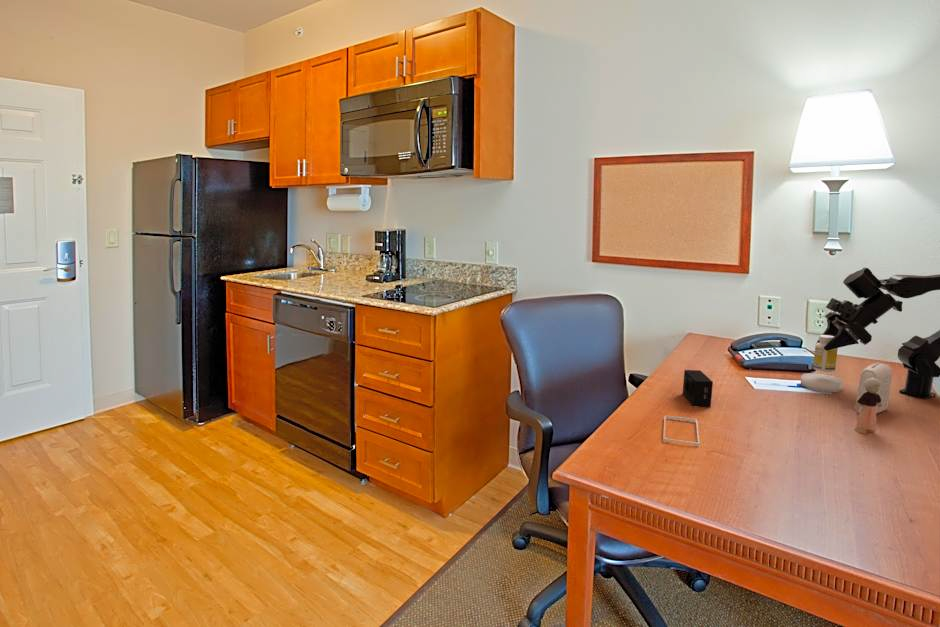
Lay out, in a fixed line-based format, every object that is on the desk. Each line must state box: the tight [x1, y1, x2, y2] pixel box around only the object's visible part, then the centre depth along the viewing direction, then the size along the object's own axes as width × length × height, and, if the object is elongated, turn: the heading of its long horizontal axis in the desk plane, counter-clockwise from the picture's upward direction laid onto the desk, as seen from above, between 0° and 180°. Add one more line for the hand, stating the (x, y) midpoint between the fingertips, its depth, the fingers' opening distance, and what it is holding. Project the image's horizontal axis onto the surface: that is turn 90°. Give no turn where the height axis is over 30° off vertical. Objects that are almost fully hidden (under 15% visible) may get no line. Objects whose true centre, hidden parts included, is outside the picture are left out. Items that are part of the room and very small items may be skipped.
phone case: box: [662, 415, 700, 447], centre depth 129 cm, size 7×1×15 cm
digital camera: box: [682, 369, 714, 408], centre depth 149 cm, size 10×5×7 cm, turn 175°
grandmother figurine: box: [853, 378, 882, 435], centre depth 129 cm, size 8×4×13 cm, turn 117°
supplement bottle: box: [812, 334, 838, 373], centre depth 160 cm, size 5×5×10 cm
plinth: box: [800, 372, 843, 393], centre depth 162 cm, size 10×10×2 cm
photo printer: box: [855, 362, 893, 414], centre depth 142 cm, size 10×4×12 cm, turn 123°
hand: (821, 346), depth 161 cm, fingers closed on supplement bottle, 5 cm apart
